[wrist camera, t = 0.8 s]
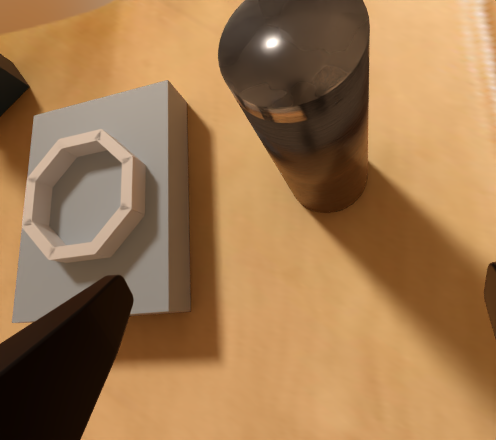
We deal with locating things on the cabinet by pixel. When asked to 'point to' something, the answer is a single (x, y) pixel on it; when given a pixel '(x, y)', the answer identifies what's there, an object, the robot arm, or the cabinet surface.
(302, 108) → the lens
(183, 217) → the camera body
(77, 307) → the robot arm
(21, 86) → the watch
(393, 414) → the cabinet surface
